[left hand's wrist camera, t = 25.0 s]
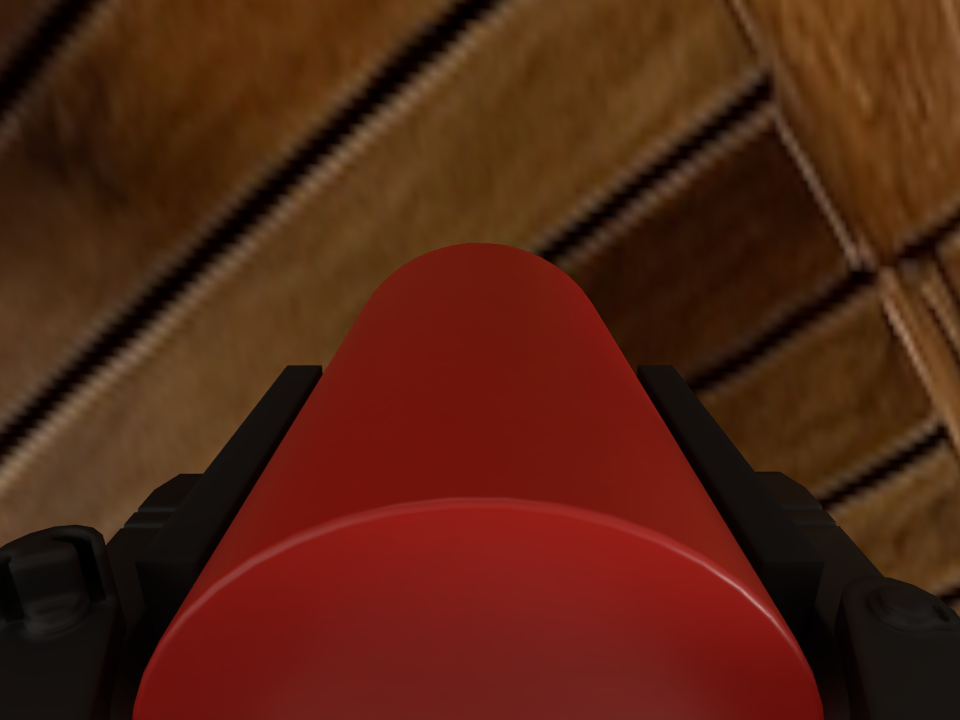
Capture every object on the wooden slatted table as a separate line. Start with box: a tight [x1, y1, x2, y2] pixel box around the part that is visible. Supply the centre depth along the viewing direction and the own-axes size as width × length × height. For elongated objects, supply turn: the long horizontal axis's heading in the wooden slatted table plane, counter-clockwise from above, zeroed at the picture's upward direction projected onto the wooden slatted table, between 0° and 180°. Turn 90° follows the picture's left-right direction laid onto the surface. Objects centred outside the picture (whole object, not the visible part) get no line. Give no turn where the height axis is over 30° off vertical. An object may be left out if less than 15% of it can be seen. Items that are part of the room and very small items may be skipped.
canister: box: [132, 243, 824, 720], centre depth 12 cm, size 7×7×11 cm
